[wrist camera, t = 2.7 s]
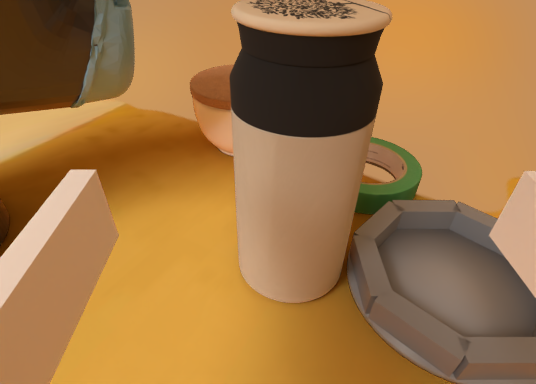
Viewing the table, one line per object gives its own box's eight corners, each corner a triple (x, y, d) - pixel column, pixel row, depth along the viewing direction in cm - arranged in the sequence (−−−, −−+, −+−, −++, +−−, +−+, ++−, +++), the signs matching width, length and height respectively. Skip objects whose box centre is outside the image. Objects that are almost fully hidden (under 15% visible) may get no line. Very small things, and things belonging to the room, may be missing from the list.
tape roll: (359, 144, 43) (363, 125, 41) (437, 191, 36) (446, 169, 34) (287, 172, 38) (288, 151, 36) (361, 232, 31) (367, 210, 29)
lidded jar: (248, 115, 48) (247, 44, 42) (305, 146, 41) (313, 67, 36) (180, 140, 42) (168, 61, 36) (233, 180, 36) (229, 93, 30)
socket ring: (306, 284, 26) (310, 263, 24) (402, 195, 34) (409, 175, 33) (537, 457, 18) (563, 441, 16) (586, 284, 26) (606, 263, 25)
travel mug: (248, 315, 23) (240, 27, 12) (232, 234, 30) (217, -7, 19) (357, 295, 25) (436, 21, 14) (320, 221, 31) (354, -8, 20)
